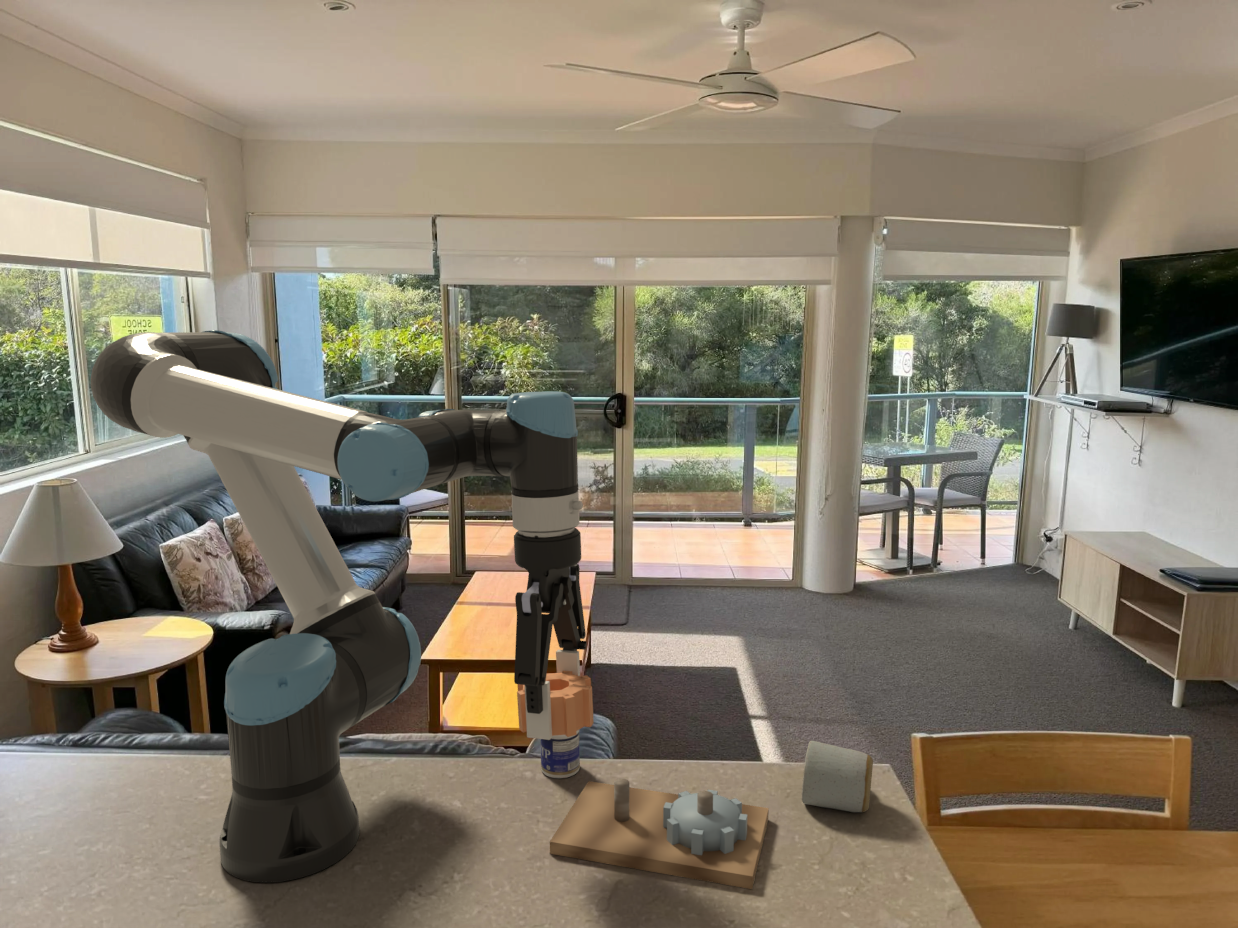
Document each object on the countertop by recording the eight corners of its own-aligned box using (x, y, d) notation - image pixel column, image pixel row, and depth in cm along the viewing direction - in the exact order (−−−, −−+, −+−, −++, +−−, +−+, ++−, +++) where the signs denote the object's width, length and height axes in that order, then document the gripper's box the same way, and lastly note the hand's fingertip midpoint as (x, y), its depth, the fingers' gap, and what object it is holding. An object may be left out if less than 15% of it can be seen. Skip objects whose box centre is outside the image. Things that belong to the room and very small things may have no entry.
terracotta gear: (505, 734, 100) (503, 696, 99) (535, 703, 108) (533, 668, 108) (579, 741, 97) (577, 703, 97) (604, 709, 106) (602, 673, 105)
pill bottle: (537, 763, 121) (536, 701, 120) (574, 757, 123) (573, 697, 122) (545, 781, 116) (544, 718, 115) (584, 775, 118) (583, 713, 117)
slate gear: (654, 847, 99) (654, 826, 99) (673, 803, 108) (673, 784, 108) (739, 861, 97) (740, 840, 96) (752, 815, 106) (752, 795, 105)
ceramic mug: (869, 826, 106) (872, 765, 105) (800, 814, 108) (802, 755, 107) (872, 784, 116) (875, 728, 115) (808, 774, 118) (810, 720, 117)
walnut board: (549, 853, 101) (549, 804, 100) (588, 791, 114) (588, 748, 113) (752, 889, 94) (753, 837, 93) (768, 819, 107) (769, 773, 107)
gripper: (541, 554, 88) (550, 766, 92) (608, 511, 109) (614, 686, 112) (473, 550, 91) (485, 758, 94) (551, 509, 111) (558, 681, 114)
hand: (555, 718), depth 103 cm, fingers closed on terracotta gear, 9 cm apart
